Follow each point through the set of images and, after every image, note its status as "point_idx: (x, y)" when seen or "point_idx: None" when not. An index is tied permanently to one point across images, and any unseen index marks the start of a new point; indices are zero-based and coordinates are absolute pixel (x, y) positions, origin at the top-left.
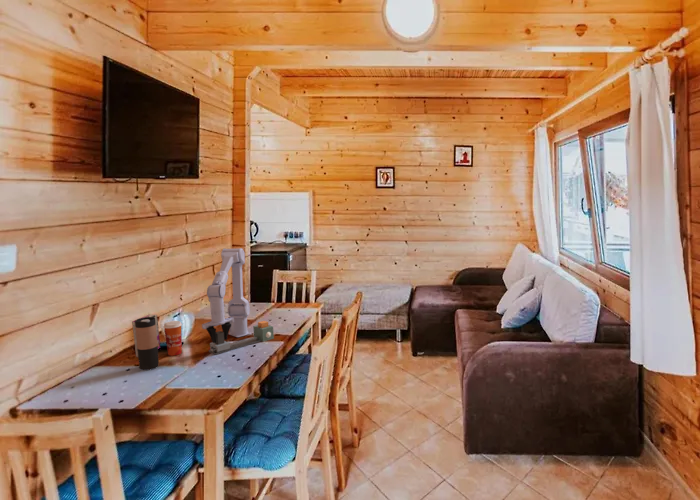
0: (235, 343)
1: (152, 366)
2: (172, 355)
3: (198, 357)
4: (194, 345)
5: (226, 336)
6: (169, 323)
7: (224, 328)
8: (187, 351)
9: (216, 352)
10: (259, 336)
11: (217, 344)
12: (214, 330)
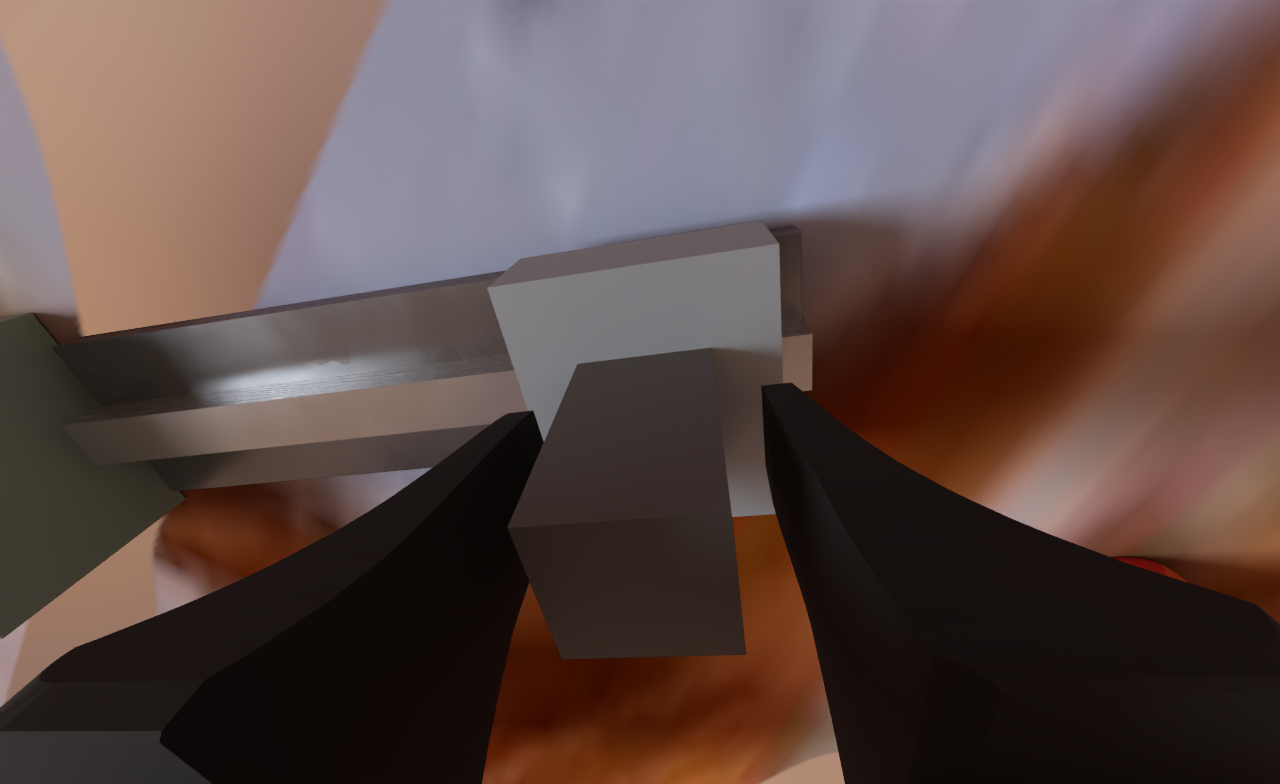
0: (401, 379)
1: None
2: (1171, 570)
3: (1038, 295)
4: (804, 670)
5: (485, 443)
6: None
7: (425, 671)
8: None
9: None
10: (34, 422)
11: (717, 371)
12: (1001, 601)
